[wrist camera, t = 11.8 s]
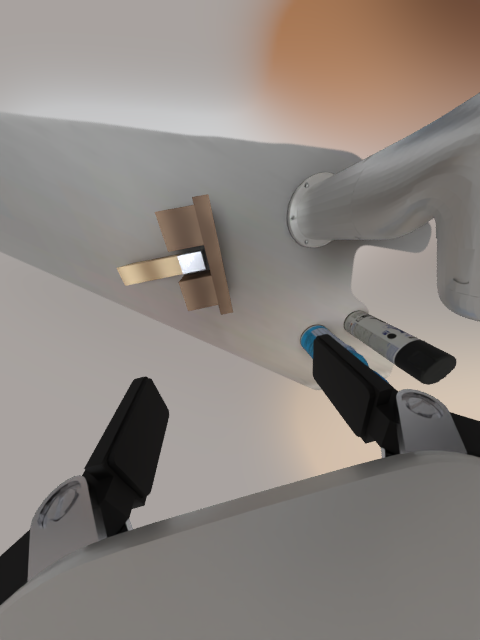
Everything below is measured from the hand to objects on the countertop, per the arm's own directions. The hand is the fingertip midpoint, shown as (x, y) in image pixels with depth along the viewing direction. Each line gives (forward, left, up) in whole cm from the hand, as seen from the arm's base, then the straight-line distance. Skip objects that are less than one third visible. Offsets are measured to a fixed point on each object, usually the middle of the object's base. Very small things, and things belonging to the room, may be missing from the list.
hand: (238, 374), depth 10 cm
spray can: (-34, +20, -31) cm, 50 cm away
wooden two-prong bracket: (+3, -4, -30) cm, 31 cm away
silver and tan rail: (+9, -4, -30) cm, 32 cm away
